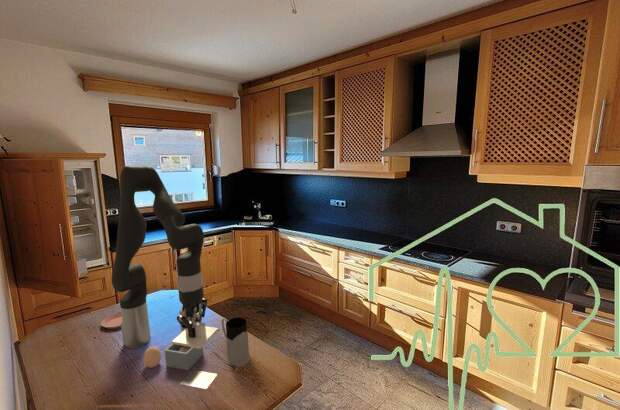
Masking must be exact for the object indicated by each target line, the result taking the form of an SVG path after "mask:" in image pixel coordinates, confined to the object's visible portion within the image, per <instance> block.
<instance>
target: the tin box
mask: <svg viewBox="0 0 620 410" xmlns="http://www.w3.org/2000/svg"><path fill="white" fill-rule="evenodd" d="M181 347H188V346H182V345H177V344H172V343H171V344H170V345H169V346H168V347H166V349H165V350H164V356H165V363H166V364H165V365H166V367H168V368H175V369H180V370H185V371H189V370H190V369H191V368H192V367H193V366H194V365H195V364H196V363H197V362H198V361H199V359H200V358H201V357H202V356H203V355H204V346H203V347H202V348H201V349H198V348H193V347H192V348H191V349H190V350H189V351H188V352H187V353H185V352H179V350H180V348H181Z"/></svg>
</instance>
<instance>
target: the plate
mask: <svg viewBox="0 0 620 410" xmlns="http://www.w3.org/2000/svg"><path fill="white" fill-rule="evenodd" d="M121 323H122V314H121V311H117V312H115V313H112V314H109V315H107V316H106V317H104V318H103V319H102V320H101V322H100V326H101V327H103V328H106V329H110V330H112V329H113V330H115V329H116V330H117V329H121Z"/></svg>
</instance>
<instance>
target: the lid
mask: <svg viewBox="0 0 620 410" xmlns="http://www.w3.org/2000/svg"><path fill="white" fill-rule="evenodd" d="M190 323H191V321H190ZM195 331H196V337H195V338H191V337H189V336H188V329H185V330H184V331H183V332H181V333H180V334H178V335H177V337H175V338H174V339H173V340H171V344H177V345H182V346H188V347H193V348H198V349H201V348H202V347H203V348H204V346H205V344H207V343H208V342H209V341H210V340H211V338H213V336H215V334H216V333H218V332H219V328H218V327H212V326H206V322H203V321H201V322H196V321H195Z"/></svg>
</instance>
